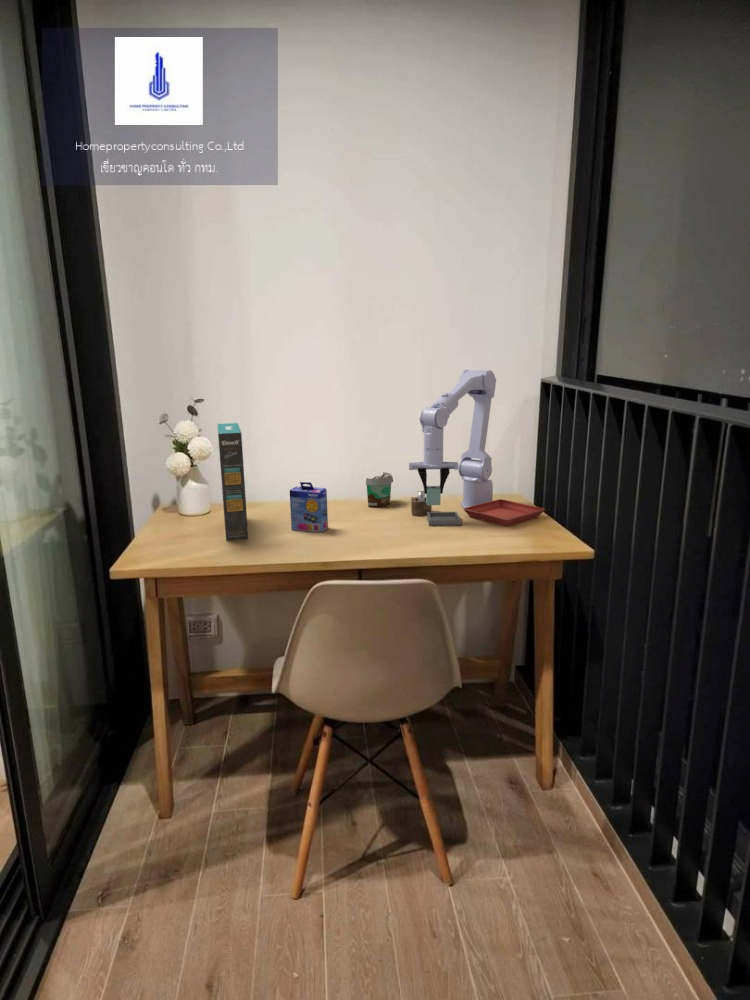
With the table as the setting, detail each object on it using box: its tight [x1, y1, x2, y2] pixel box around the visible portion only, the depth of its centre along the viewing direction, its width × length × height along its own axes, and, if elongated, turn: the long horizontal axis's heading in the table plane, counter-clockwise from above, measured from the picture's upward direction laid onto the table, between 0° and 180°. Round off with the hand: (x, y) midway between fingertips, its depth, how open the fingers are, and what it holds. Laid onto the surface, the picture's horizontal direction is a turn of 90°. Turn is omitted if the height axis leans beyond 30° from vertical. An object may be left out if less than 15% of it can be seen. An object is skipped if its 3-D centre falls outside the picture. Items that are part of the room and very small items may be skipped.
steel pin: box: [417, 490, 426, 501], centre depth 202 cm, size 2×2×7 cm
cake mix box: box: [216, 422, 249, 542], centre depth 185 cm, size 22×6×30 cm, turn 14°
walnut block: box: [410, 496, 433, 517], centre depth 203 cm, size 6×6×4 cm
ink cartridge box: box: [289, 481, 329, 533], centre depth 186 cm, size 10×6×14 cm, turn 72°
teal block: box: [425, 485, 441, 506], centre depth 192 cm, size 4×4×5 cm
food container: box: [365, 471, 394, 509], centre depth 213 cm, size 12×6×10 cm, turn 150°
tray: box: [426, 511, 462, 527], centre depth 193 cm, size 9×9×2 cm
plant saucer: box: [462, 498, 545, 528], centre depth 197 cm, size 18×18×3 cm
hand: (433, 493), depth 192 cm, fingers closed on teal block, 4 cm apart
